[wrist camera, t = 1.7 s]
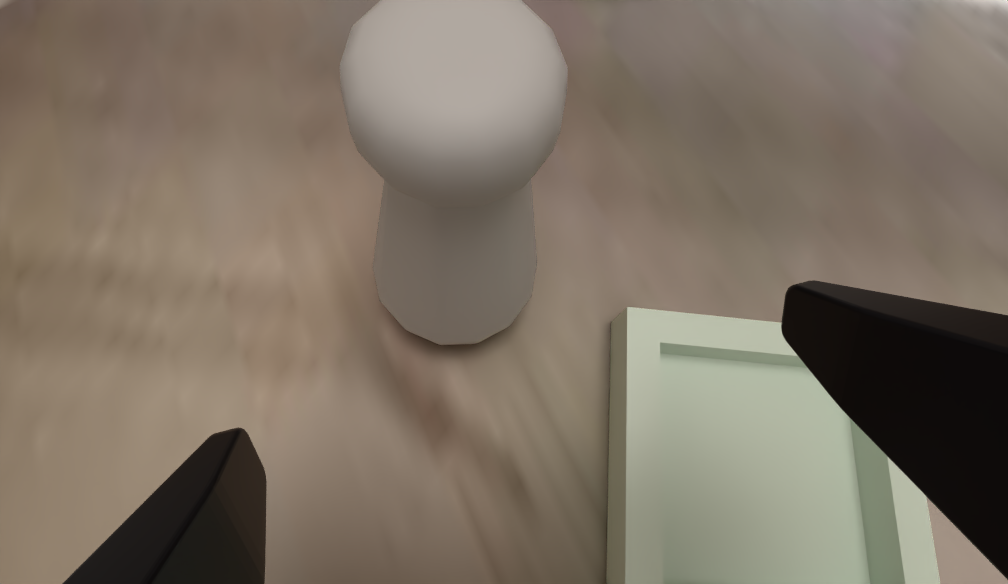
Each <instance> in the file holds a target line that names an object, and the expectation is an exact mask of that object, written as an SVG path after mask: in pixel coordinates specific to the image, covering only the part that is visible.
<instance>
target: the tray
mask: <svg viewBox="0 0 1008 584" xmlns="http://www.w3.org/2000/svg"><path fill="white" fill-rule="evenodd" d="M606 584H940V579H939V572H938V566H937V560H936V554H935V548H934V541H933V535H932V529H931V523H930V516H929V510H928V504H927V498H926V496H925V495H924V494H923V492H922V491H921V490H920V489H919V488H918V487H917V486H916V485H915V484H914V483H913V482H912V481H911V480H910V479H909V478H908V477H907V476H906V475H905V474H904V473H903V472H902V471H901V470H900V469H899V468H898V467H897V466H896V465H895V464H894V463H893V462H892V461H891V460H890V459H889V458H888V457H887V456H886V455H885V454H884V453H883V452H882V451H881V449H880V448H879V447H878V446H877V445H876V444H875V443H874V442H873V441H872V440H871V439H870V438H869V437H868V436H867V435H866V434H865V433H864V432H863V431H862V430H861V429H860V428H859V427H858V426H857V425H856V424H855V423H854V422H853V421H852V420H851V419H850V418H849V417H848V416H847V415H846V413H845V412H844V411H843V410H842V409H841V408H840V407H839V406H838V405H837V403H836V402H835V401H834V400H833V399H832V398H831V396H830V395H829V394H828V393H827V391H826V390H825V389H824V388H823V386H822V385H821V384H820V383H819V381H818V380H817V379H816V378H815V377H814V375H813V374H812V373H811V372H810V370H809V369H808V368H807V367H806V365H805V364H804V363H803V362H802V360H801V359H800V358H799V357H798V355H797V354H796V353H795V352H794V351H793V349H792V348H791V347H790V346H789V344H788V343H787V342H786V340H785V339H784V337H783V334H782V330H781V323H778V322H768V321H759V320H749V319H739V318H730V317H720V316H710V315H701V314H691V313H682V312H672V311H662V310H653V309H643V308H633V307H627V308H626V309H625V310H624V311H623V312H621V313H620V314H619V315H618V316H617V317H616V318H615V319H614V320H613V321H612V322H611V343H610V401H609V459H608V516H607V574H606Z"/></svg>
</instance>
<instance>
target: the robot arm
mask: <svg viewBox="0 0 1008 584" xmlns="http://www.w3.org/2000/svg"><path fill="white" fill-rule="evenodd" d="M781 330H782V334H783V337H784V339H785V340H786V342H787V343H788V344H789V346H790V347H791V348H792V349H793V351H794V352H795V353H796V354H797V355H798V357H799V358H800V359H801V360H802V362H803V363H804V364H805V365H806V367H807V368H808V369H809V370H810V372H811V373H812V374H813V375H814V377H815V378H816V379H817V380H818V381H819V383H820V384H821V385H822V386H823V388H824V389H825V390H826V391H827V393H828V394H829V395H830V396H831V398H832V399H833V400H834V401H835V402H836V403H837V405H838V406H839V407H840V408H841V409H842V410H843V411H844V412H845V413H846V415H847V416H848V417H849V418H850V419H851V420H852V421H853V422H854V423H855V424H856V425H857V426H858V427H859V428H860V429H861V430H862V431H863V432H864V433H865V434H866V435H867V436H868V437H869V438H870V439H871V440H872V441H873V442H874V443H875V444H876V445H877V446H878V447H879V448H880V449H881V451H882V452H883V453H884V454H885V455H886V456H887V457H888V458H889V459H890V460H891V461H892V462H893V463H894V464H895V465H896V466H897V467H898V468H899V469H900V470H901V471H902V472H903V473H904V474H905V475H906V476H907V477H908V478H909V479H910V480H911V481H912V482H913V483H914V484H915V485H916V486H917V487H918V488H919V489H920V490H921V491H922V492H923V494H924V495H925V496H926V497H927V498H928V499H929V500H930V501H931V502H932V503H933V504H934V505H935V506H936V507H937V508H938V509H939V510H940V511H941V512H942V513H943V514H944V515H945V516H946V517H947V518H948V519H949V520H950V521H951V522H952V523H953V524H954V525H955V526H956V527H957V528H958V529H959V530H960V531H961V532H962V533H963V534H964V535H965V536H966V538H967V539H968V540H969V541H970V542H971V543H972V544H973V545H974V546H975V547H976V548H977V549H978V550H979V551H980V552H981V553H982V554H983V555H984V556H985V557H986V558H987V559H988V560H989V561H990V562H991V563H992V564H993V565H994V566H995V567H996V568H997V569H998V570H999V571H1000V572H1001V573H1002V574H1003V575H1004V576H1005V577H1006V578H1007V579H1008V315H1003V314H997V313H992V312H986V311H981V310H975V309H970V308H964V307H959V306H953V305H948V304H942V303H936V302H931V301H925V300H920V299H914V298H909V297H903V296H898V295H892V294H887V293H881V292H876V291H870V290H864V289H859V288H853V287H848V286H842V285H837V284H831V283H826V282H820V281H807V282H803V283H799V284H795V285H792V286H791V287H789V288H788V290H787V292H786V295H785V302H784V309H783V316H782V323H781ZM265 545H266V475H265V471H264V467H263V465H262V463H261V461H260V459H259V457H258V454H257V452H256V450H255V448H254V446H253V444H252V442H251V440H250V437H249V435H248V434H247V432H246V431H245V430H244V429H242V428H234V429H230V430H226V431H223V432H219V433H215V434H213V435H211V436H210V437H209V438H208V439H207V440H206V441H205V442H204V443H203V444H202V445H201V446H200V447H199V448H198V449H197V450H196V451H195V452H194V453H193V454H192V455H191V456H190V457H189V458H188V459H187V460H186V461H185V462H184V463H183V464H182V465H181V466H180V467H179V468H178V469H177V470H176V471H175V472H174V473H173V474H172V475H171V476H170V477H169V478H168V479H167V480H166V481H165V482H164V483H163V484H162V485H161V486H160V487H159V488H158V489H157V490H156V491H155V492H154V493H153V494H152V495H151V496H150V497H149V498H148V499H147V500H146V501H145V502H144V503H143V504H142V505H141V506H140V507H139V508H138V509H137V510H136V511H135V512H134V513H133V514H132V515H131V516H130V517H129V518H128V519H127V520H126V521H125V522H124V523H123V524H122V525H121V526H120V527H119V528H118V529H117V530H116V531H115V532H114V533H113V534H112V535H111V536H110V537H109V538H108V539H107V540H106V541H105V542H104V543H103V544H102V545H101V546H100V547H99V548H98V549H97V550H96V551H95V552H94V553H93V554H92V555H91V556H90V557H89V558H88V559H87V560H86V561H85V562H84V563H83V564H82V565H81V566H80V567H79V568H78V569H77V570H76V571H75V572H74V573H73V574H72V575H71V576H70V577H69V578H68V579H67V580H66V581H65V582H64V583H63V584H264V582H265Z"/></svg>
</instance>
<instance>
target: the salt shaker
mask: <svg viewBox="0 0 1008 584" xmlns="http://www.w3.org/2000/svg"><path fill="white" fill-rule="evenodd" d="M567 75H568V68H567V65H566V63H565V60H564V58H563V55H562V53H561V50H560V48H559V45H558V43H557V40H556V38H555V35H554V33H553V30H552V29H551V28H550V27H549V26H548V25H547V24H546V23H545V22H544V21H543V20H542V19H541V18H540V17H538V16H537V15H536V14H535V13H534V12H533V11H532V10H531V9H530V8H529V7H528V6H527V5H526V4H525V3H524V2H523V1H522V0H380V1H379V2H378V3H377V4H376V5H375V6H374V7H373V8H372V9H370V10H369V11H368V12H367V13H366V14H365V15H364V16H363V17H362V18H360V19H359V20H358V21H357V22H356V23H355V24H354V25H353V26H352V28H351V32H350V35H349V38H348V41H347V44H346V47H345V51H344V54H343V57H342V60H341V63H340V84H341V93H342V98H343V102H344V107H345V112H346V116H347V121H348V125H349V130H350V134H351V136H352V138H353V141H354V143H355V145H356V148H357V150H358V152H359V153H360V154H361V155H362V156H363V157H364V159H365V160H366V161H367V162H368V163H369V164H370V165H371V166H372V167H373V168H374V169H375V170H376V171H377V172H378V174H379V175H380V176H381V177H382V178H383V179H384V186H383V193H382V201H381V208H380V216H379V223H378V231H377V238H376V246H375V253H374V261H373V271H374V275H375V280H376V285H377V290H378V294H379V299H380V302H381V303H382V304H383V305H384V306H385V307H386V308H387V309H388V311H389V312H390V313H391V314H392V315H393V316H394V317H395V319H396V320H397V321H398V322H399V323H400V324H401V325H402V327H403V328H404V329H406V330H407V331H409V332H411V333H413V334H416V335H418V336H420V337H423V338H425V339H427V340H429V341H432V342H434V343H436V344H439V345H455V344H477V343H479V342H481V341H483V340H485V339H486V338H488V337H490V336H492V335H494V334H496V333H498V332H500V331H502V330H504V329H506V328H508V327H509V326H510V325H511V324H512V322H513V321H514V320H515V318H516V317H517V316H518V314H519V313H520V311H521V310H522V309H523V307H524V306H525V305H526V303H527V302H528V300H529V299H530V298H531V296H532V290H533V284H534V278H535V272H536V266H537V254H536V240H535V226H534V212H533V198H532V184H531V178H532V177H533V176H534V174H535V173H536V172H537V171H538V169H539V168H540V167H541V165H542V164H543V163H544V162H545V160H546V159H547V158H548V157H549V155H550V154H551V153H552V151H553V149H554V147H555V144H556V141H557V139H558V136H559V134H560V129H561V123H562V118H563V112H564V106H565V100H566V94H567Z"/></svg>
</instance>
